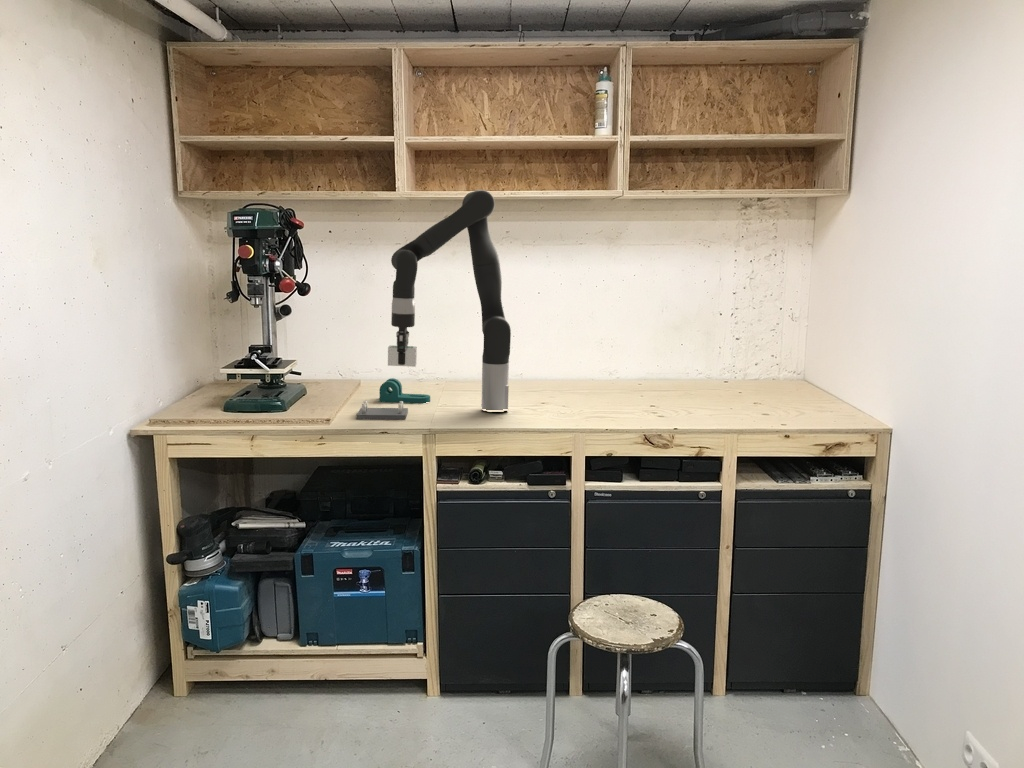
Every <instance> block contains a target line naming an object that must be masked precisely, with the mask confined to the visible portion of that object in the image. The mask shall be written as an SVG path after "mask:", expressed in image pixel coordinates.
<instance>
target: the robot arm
mask: <svg viewBox="0 0 1024 768" xmlns="http://www.w3.org/2000/svg"><path fill="white" fill-rule="evenodd" d="M495 206H496V201H495V198H494V196H493V195H492V193H490V192H489V191H487V190H484V189H478V190H474V191H471V192H469V193H467V194H466V195H465V196H464V198H463V200H462V204H461V206H460V207H459V208H458V209H457V210H455V212H454V211H453V213H452V214H450V215H449V216H446V217H445V218H442V220H440V221H438V222H436V223H435V224H434V225H432V226H431V227H429V228H428V229H426V230H425V231H423V232H422V233H421V234H419V235H418V236H417V237H416V238H414V239H413V240H412V241H410V242H408V243H406V244H405V245H403V246H401V247H400V248H398V249H397V250H396V251H395V252H393V254H392V256H391V259H390V261H391V265H392V268H394V269H395V280H394V281H393V283H392V299H391V301H392V302H391V318H390V319H391V322H390V323H391V326H392V327H396V328H398V330H397V331H396V336H395V337H396V346H397V352H398V364H399V365H404V364H405V352H406V347H407V346H409V338H410V331H409V330H408V328H413V327H415V325H416V324H415V323H416V321H415V319H416V318H415V317H416V315H415V314H416V303H415V290H416V289H415V283H416V279H417V273H418V262H420V260H422V259H423V258H426V257H430V256H431V255H432V254H434V253H436V251H438V250H439V249H441V248H442V247H443V246H444V245H445V244H447V243H448V242H450V241H451V240H452V239H453V238H454V237H456V236H457V235H458V234H459V233H461V232H462V231H464V230H465V229H467V232H468V238H469V248H470V256H471V262H472V269H473V276H474V281H475V286H476V290H477V294H478V298H479V302H480V308H481V309H480V310H481V330H482V331H481V332H482V334H483V350H482V356H481V358H482V359H481V360H482V361H481V362H482V364H481V365H482V367H481V407H482V409H486V410H503V409H508V410H509V392H510V391H509V390H510V389H509V387H510V386H509V368H510V367H509V363H510V354H511V339H512V338H511V337H512V333H511V332H512V330H511V325H510V323H509V322H508V321H507V320H506V316H505V313H504V307H503V303H502V302H503V301H502V287H503V286H502V283H503V282H502V269H501V263H500V258H499V254H498V251H497V249H496V247H495V244H494V241H493V240H492V238H491V233H490V229H489V220H488V217H489V216H490V215H492V213H493V212H494V211H495ZM400 346H403V349H400Z"/></svg>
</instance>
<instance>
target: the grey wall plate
mask: <svg viewBox="0 0 1024 768" xmlns="http://www.w3.org/2000/svg"><path fill="white" fill-rule="evenodd" d="M397 404H398V407H368V400H363V403H361V407H360V409H359V410H358V411H357V413H356V420H387V421H388V420H393V421H394V420H395V421H397V420H401V421H402V420H404V419H407V417H408V414H409V408H408V407H404V403H403V401H400V403H397ZM404 421H405V420H404Z"/></svg>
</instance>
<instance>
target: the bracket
mask: <svg viewBox="0 0 1024 768" xmlns="http://www.w3.org/2000/svg"><path fill="white" fill-rule="evenodd" d="M400 401H403V404H413V403H426V402H430V403H431V395H429V394H424V393H423V394H422V393H403V385H402V383H401V381H400V380H399V379H397V378H394V377H393V378H388V379H387V380H385V381H383V383H382V384H381V385H380V387H379V403H388V404H389V403H391V404H392V403H393V404H396V403H397V404H400ZM426 404H427V403H426Z"/></svg>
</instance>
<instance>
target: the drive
mask: <svg viewBox="0 0 1024 768" xmlns="http://www.w3.org/2000/svg"><path fill="white" fill-rule="evenodd" d="M400 349H403V346H400ZM417 351H418V350H417V346H412V345H410V346H409V345H407V347H406V352H405V364H404V365H399V364H398V352H397V345H389V346H388V347H387V366H391V367H412V368H414V367H415V368H416V366H417V354H418V353H417Z"/></svg>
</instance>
